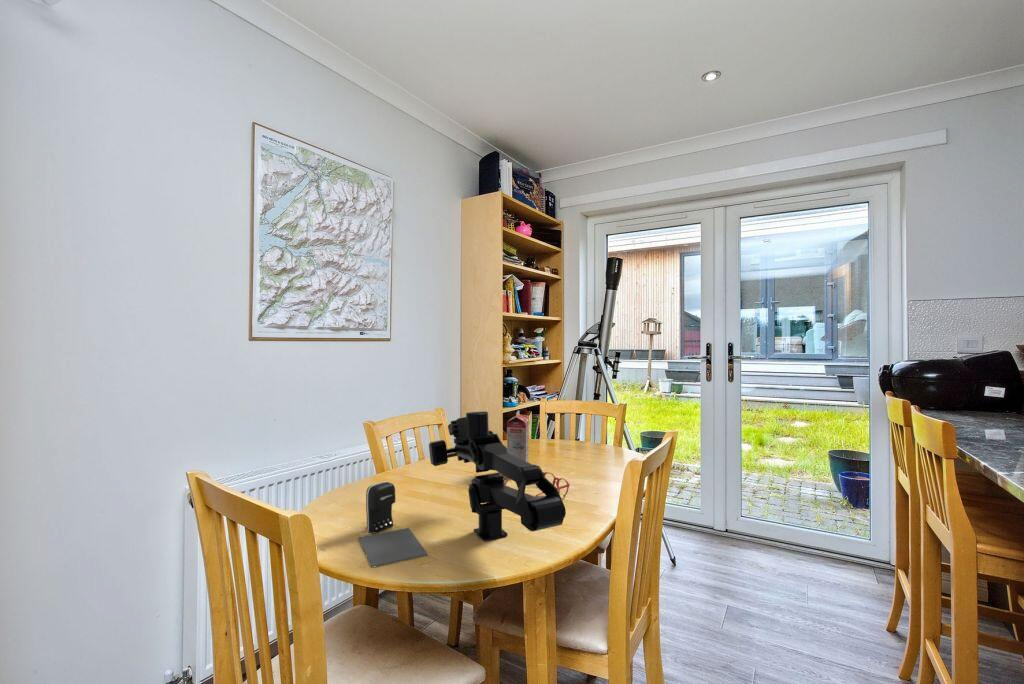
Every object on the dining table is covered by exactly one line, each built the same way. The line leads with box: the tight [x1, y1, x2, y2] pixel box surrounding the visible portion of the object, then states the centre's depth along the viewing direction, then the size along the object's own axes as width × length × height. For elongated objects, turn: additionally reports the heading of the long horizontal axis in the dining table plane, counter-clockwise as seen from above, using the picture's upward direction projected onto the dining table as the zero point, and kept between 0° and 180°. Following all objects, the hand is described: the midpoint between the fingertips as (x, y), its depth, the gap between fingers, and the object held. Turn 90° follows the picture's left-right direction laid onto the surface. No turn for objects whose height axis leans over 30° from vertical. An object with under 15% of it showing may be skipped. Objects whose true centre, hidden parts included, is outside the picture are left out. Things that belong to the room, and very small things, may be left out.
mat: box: [358, 527, 429, 568], centre depth 108 cm, size 16×12×1 cm
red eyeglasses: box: [505, 471, 570, 496], centre depth 144 cm, size 17×16×5 cm
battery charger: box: [365, 480, 396, 534], centre depth 118 cm, size 7×4×11 cm, turn 144°
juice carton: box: [506, 409, 529, 463], centre depth 166 cm, size 7×7×22 cm
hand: (452, 444), depth 137 cm, fingers open, 9 cm apart
